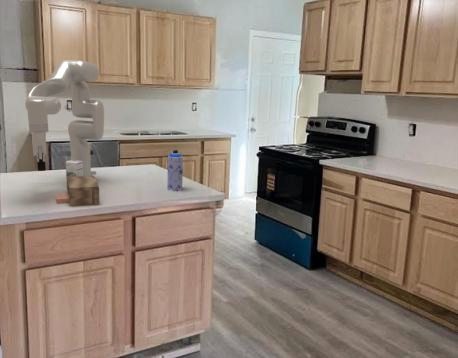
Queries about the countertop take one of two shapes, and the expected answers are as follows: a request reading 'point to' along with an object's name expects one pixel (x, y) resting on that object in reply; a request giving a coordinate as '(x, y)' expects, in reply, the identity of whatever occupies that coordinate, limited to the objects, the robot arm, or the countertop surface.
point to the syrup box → (74, 168)
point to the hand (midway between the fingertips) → (41, 170)
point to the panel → (62, 198)
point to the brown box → (83, 190)
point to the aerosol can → (175, 171)
